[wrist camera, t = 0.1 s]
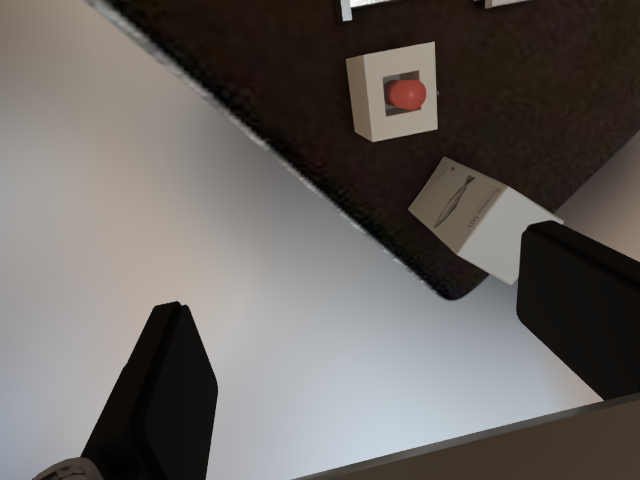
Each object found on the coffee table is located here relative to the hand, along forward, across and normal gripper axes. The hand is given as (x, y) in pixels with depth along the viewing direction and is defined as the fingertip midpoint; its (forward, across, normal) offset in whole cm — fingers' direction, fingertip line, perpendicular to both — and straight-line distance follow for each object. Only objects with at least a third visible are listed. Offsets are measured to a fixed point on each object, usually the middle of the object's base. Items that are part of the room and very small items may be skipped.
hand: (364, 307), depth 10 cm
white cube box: (+31, -10, -3) cm, 33 cm away
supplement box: (+31, -17, +10) cm, 37 cm away
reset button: (+27, -10, -3) cm, 29 cm away
